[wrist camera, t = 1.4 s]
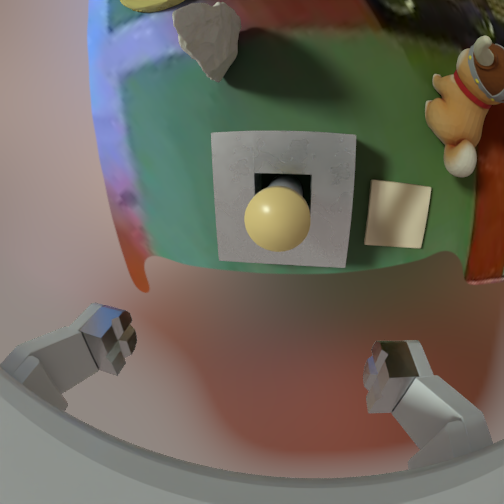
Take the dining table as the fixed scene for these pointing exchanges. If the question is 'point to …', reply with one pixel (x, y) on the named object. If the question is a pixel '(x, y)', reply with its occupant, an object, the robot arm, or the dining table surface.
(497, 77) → the toy
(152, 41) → the dining table surface
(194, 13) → the stone tool
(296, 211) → the plug
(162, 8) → the figurine
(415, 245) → the coaster
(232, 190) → the housing
